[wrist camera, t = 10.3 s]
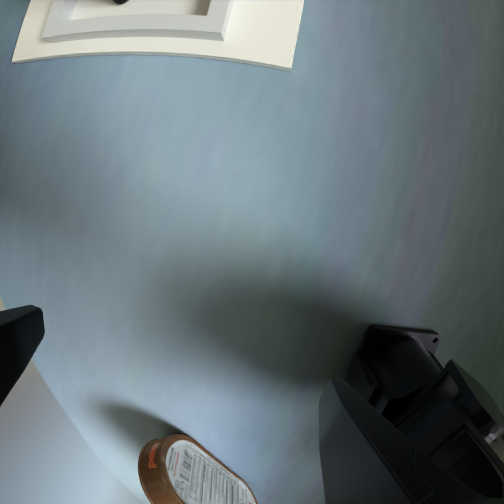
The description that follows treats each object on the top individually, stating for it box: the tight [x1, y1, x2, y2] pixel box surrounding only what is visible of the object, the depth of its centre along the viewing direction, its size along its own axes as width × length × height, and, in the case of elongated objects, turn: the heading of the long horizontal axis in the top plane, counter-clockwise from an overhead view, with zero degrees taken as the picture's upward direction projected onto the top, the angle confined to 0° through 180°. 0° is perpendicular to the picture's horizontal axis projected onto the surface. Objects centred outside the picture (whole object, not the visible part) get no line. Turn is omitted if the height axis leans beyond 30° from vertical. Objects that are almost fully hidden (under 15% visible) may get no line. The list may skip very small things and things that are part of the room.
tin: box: [138, 434, 258, 504], centre depth 22 cm, size 15×3×8 cm, turn 32°
